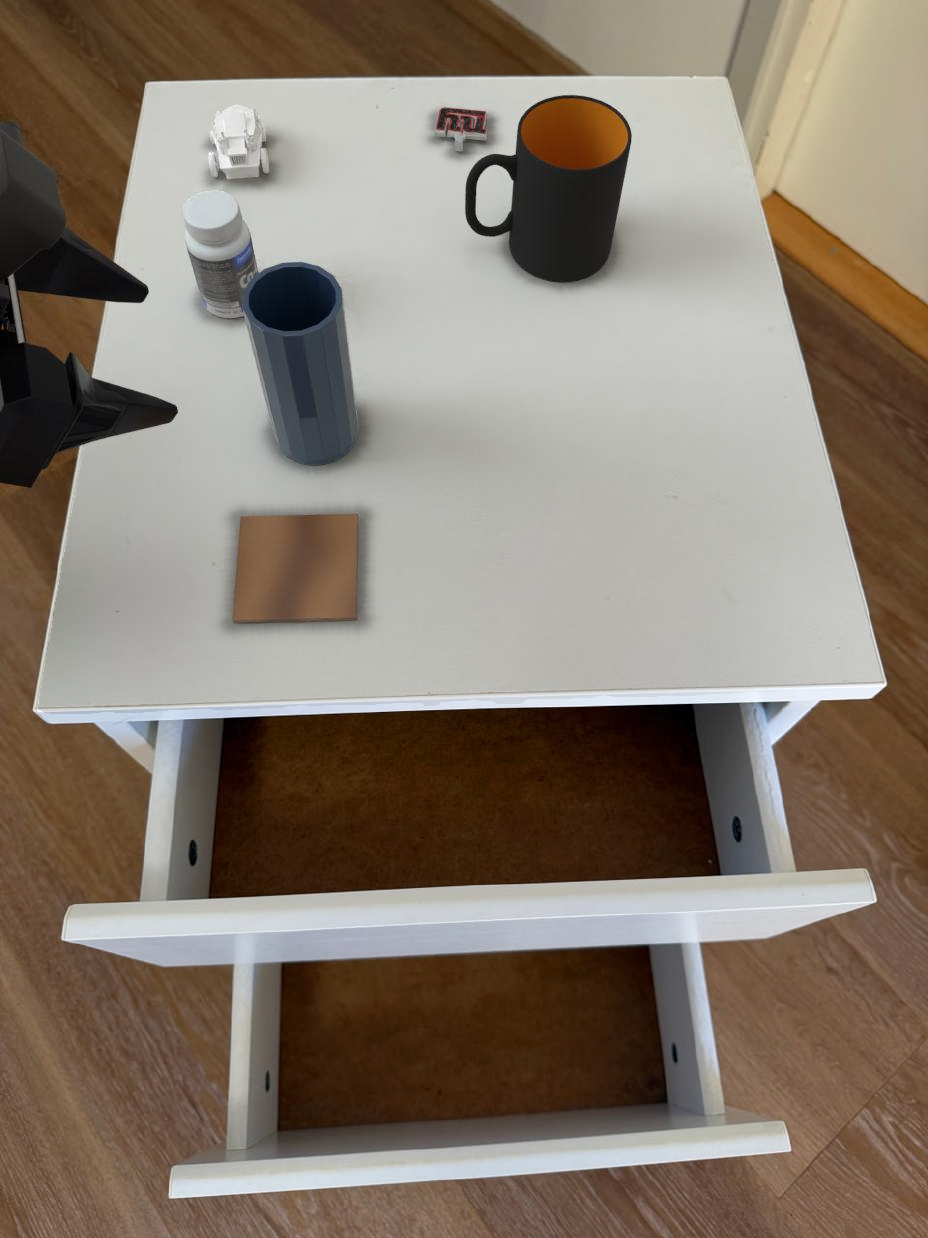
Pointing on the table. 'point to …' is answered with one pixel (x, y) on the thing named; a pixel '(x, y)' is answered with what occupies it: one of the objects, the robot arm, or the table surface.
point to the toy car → (238, 143)
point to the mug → (561, 187)
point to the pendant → (464, 119)
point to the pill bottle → (219, 251)
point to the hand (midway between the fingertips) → (159, 352)
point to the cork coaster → (296, 568)
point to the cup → (303, 360)
